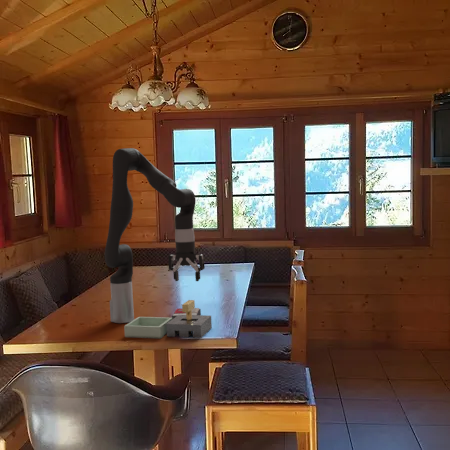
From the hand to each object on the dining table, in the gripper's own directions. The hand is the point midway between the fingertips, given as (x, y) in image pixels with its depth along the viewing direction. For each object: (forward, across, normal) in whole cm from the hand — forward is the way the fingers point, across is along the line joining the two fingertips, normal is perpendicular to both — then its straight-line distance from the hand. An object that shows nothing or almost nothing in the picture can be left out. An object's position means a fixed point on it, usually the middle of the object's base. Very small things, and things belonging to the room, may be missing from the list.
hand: (187, 280), depth 228 cm
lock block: (+21, 0, 0) cm, 21 cm away
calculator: (+21, -8, +19) cm, 29 cm away
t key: (+21, 0, 0) cm, 21 cm away
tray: (+21, -16, -3) cm, 26 cm away
